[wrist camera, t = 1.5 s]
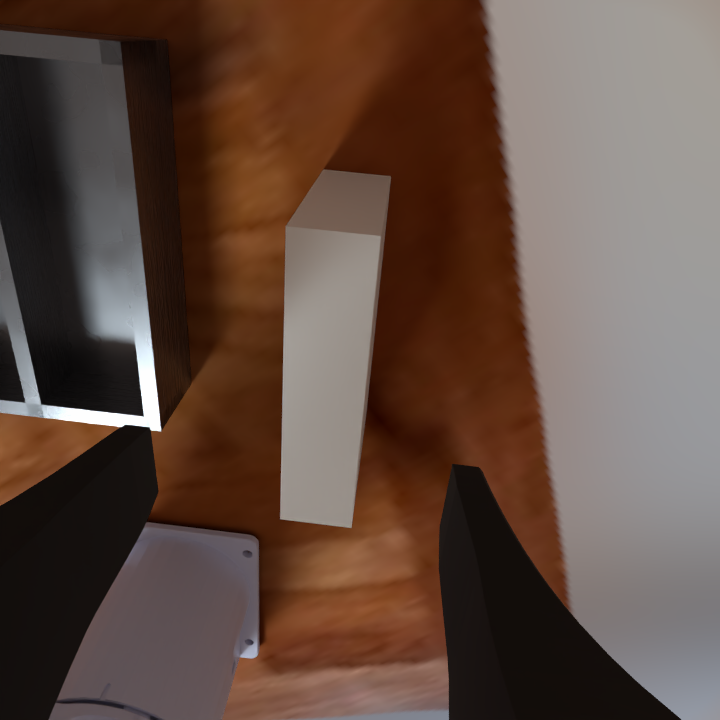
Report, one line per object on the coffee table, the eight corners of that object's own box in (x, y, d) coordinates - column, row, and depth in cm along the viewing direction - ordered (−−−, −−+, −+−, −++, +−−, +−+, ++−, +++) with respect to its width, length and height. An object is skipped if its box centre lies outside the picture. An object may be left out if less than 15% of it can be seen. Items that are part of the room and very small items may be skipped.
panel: (366, 410, 26) (351, 527, 20) (312, 403, 26) (280, 519, 20) (391, 175, 21) (380, 236, 15) (323, 168, 21) (285, 225, 15)
